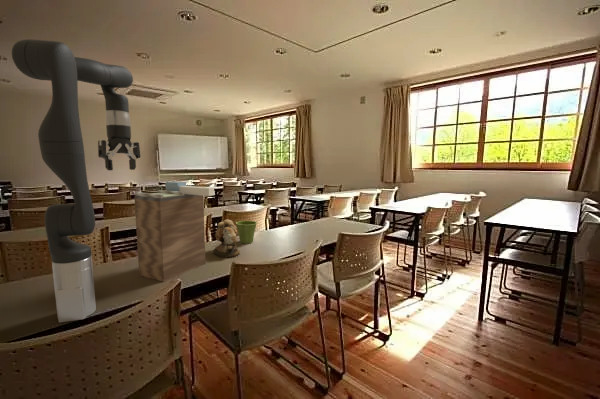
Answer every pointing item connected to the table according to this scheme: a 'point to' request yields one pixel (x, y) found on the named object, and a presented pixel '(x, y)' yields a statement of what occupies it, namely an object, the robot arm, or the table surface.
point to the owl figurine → (226, 240)
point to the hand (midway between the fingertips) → (121, 170)
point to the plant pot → (246, 231)
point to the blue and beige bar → (189, 189)
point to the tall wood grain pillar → (169, 233)
